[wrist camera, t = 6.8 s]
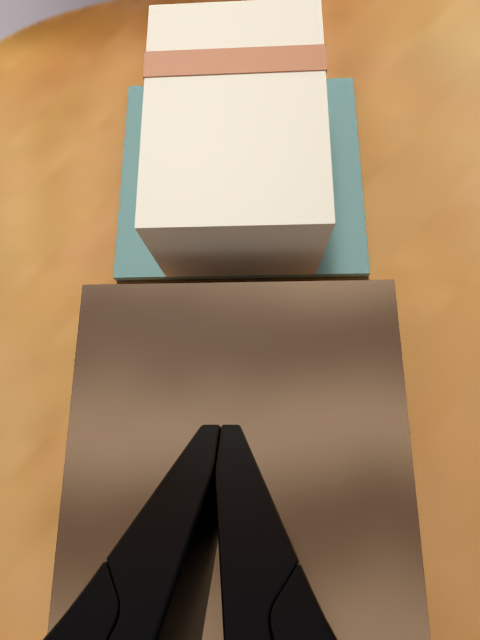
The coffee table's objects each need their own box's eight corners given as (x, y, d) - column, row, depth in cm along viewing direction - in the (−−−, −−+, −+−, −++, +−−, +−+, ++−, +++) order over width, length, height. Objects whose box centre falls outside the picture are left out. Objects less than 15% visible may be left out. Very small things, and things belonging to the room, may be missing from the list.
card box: (337, 222, 14) (322, -5, 16) (132, 227, 14) (147, 3, 17) (316, 274, 19) (307, 94, 21) (165, 277, 19) (173, 99, 22)
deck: (411, 797, 14) (458, 914, 11) (75, 784, 15) (21, 892, 11) (369, 305, 19) (394, 279, 15) (113, 309, 19) (82, 284, 16)
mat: (367, 276, 19) (369, 273, 19) (116, 280, 20) (113, 277, 19) (351, 83, 22) (353, 77, 21) (131, 92, 22) (129, 86, 22)
